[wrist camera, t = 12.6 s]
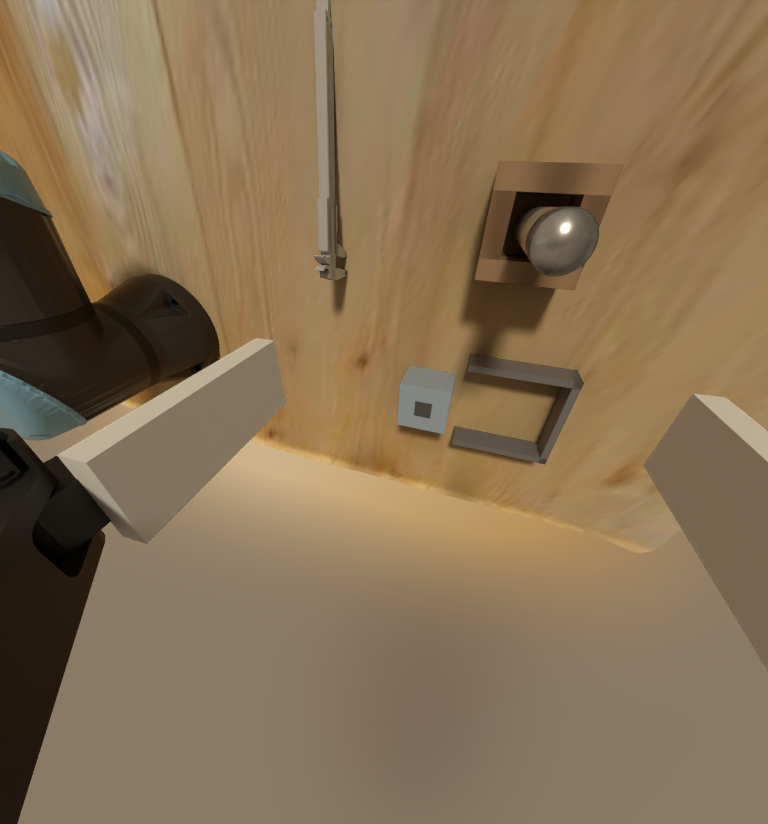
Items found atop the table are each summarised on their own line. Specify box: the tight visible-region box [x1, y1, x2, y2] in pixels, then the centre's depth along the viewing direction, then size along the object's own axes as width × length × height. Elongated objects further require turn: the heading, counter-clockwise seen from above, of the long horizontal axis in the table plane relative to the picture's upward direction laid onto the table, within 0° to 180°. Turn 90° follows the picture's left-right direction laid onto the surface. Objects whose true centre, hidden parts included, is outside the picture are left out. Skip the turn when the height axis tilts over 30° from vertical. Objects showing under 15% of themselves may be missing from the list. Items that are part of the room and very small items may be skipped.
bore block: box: [475, 161, 624, 290], centre depth 26 cm, size 8×8×6 cm
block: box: [397, 366, 456, 434], centre depth 38 cm, size 6×6×5 cm
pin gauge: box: [514, 206, 599, 276], centre depth 21 cm, size 3×3×15 cm
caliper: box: [314, 0, 347, 280], centre depth 27 cm, size 20×1×6 cm, turn 0°
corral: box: [452, 355, 584, 464], centre depth 37 cm, size 12×12×3 cm
